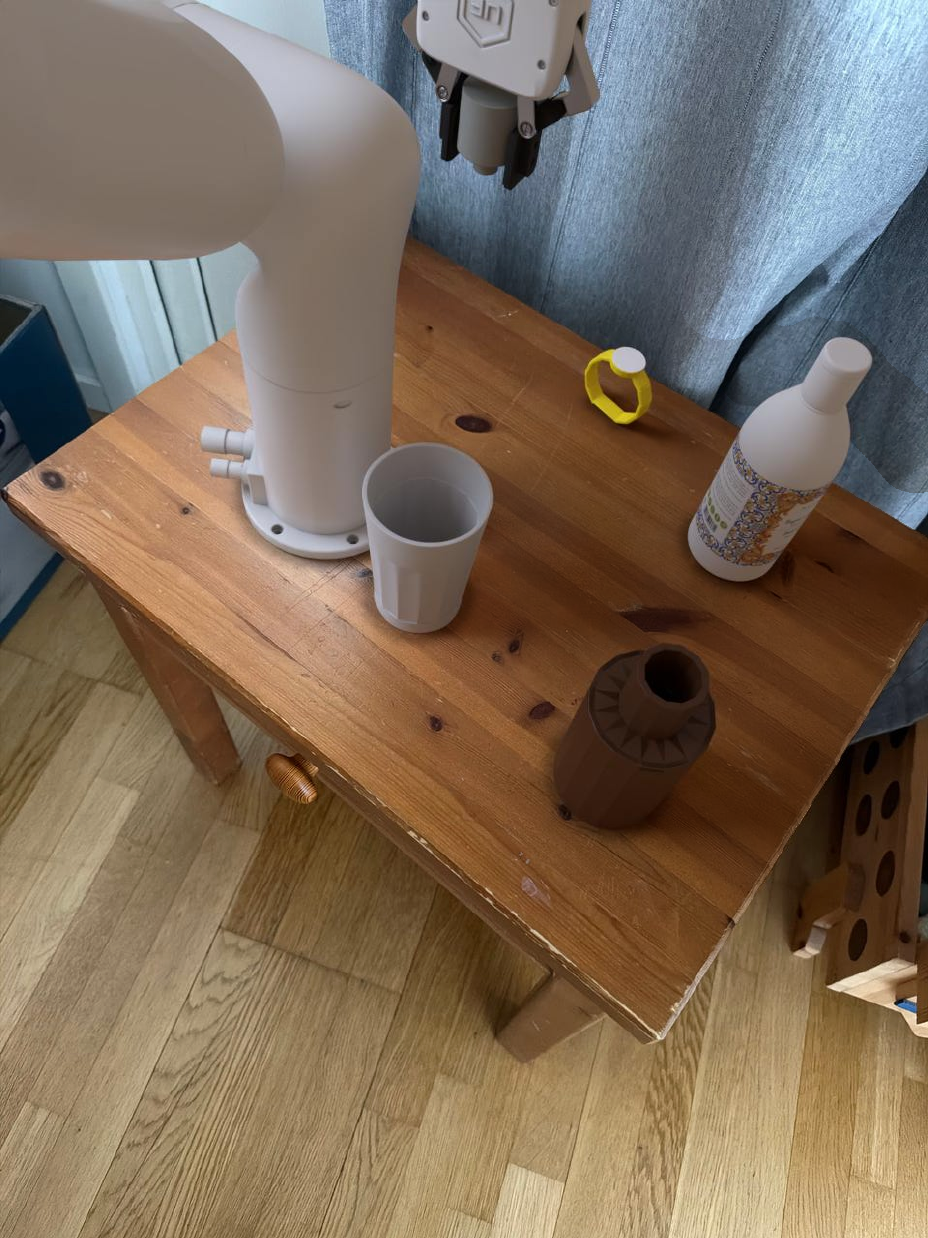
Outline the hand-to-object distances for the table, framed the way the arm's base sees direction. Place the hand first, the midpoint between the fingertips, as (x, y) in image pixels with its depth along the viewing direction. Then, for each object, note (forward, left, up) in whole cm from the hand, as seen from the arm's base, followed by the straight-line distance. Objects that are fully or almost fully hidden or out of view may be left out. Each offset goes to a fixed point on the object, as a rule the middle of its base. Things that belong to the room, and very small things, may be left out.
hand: (485, 163), depth 64 cm
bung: (0, 0, 0) cm, 0 cm away
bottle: (+13, -39, -16) cm, 44 cm away
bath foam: (+23, -19, -17) cm, 34 cm away
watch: (+13, -6, -17) cm, 22 cm away
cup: (-1, -27, -17) cm, 31 cm away
